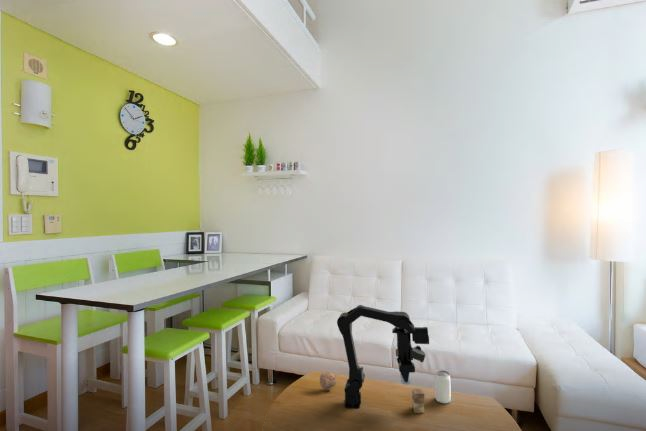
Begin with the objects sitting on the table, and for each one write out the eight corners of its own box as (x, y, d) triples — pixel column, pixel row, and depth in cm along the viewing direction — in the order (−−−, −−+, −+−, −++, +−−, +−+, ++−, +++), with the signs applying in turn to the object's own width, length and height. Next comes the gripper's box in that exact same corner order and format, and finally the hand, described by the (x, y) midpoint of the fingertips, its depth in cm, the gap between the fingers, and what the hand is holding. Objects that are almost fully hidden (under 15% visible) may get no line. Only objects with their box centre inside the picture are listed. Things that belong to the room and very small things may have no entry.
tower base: (414, 412, 142) (414, 402, 142) (413, 407, 146) (412, 397, 146) (424, 413, 142) (424, 403, 142) (422, 407, 146) (422, 398, 146)
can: (452, 404, 148) (451, 377, 148) (436, 403, 149) (435, 375, 149) (449, 396, 154) (449, 370, 154) (434, 395, 155) (434, 369, 155)
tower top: (415, 403, 142) (414, 393, 142) (412, 398, 146) (412, 388, 146) (424, 403, 142) (424, 393, 142) (421, 398, 146) (421, 388, 146)
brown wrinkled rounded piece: (336, 387, 165) (336, 370, 165) (335, 393, 158) (335, 376, 158) (320, 386, 165) (320, 370, 165) (319, 393, 159) (319, 376, 159)
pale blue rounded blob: (401, 384, 143) (400, 374, 143) (400, 379, 147) (400, 370, 147) (411, 384, 142) (410, 375, 142) (409, 380, 146) (409, 370, 146)
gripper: (427, 351, 134) (429, 391, 134) (420, 335, 153) (421, 370, 153) (398, 351, 136) (400, 390, 136) (394, 335, 154) (396, 369, 154)
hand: (405, 379), depth 145 cm, fingers closed on pale blue rounded blob, 4 cm apart
